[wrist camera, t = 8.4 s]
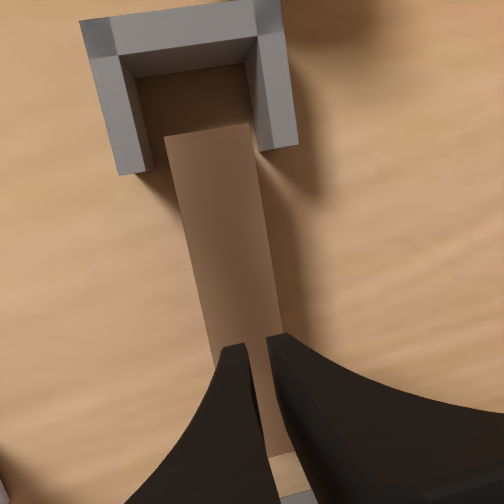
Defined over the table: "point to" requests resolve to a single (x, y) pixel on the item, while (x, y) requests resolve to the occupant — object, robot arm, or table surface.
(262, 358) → the slat
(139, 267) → the table surface
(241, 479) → the robot arm
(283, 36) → the cap near
